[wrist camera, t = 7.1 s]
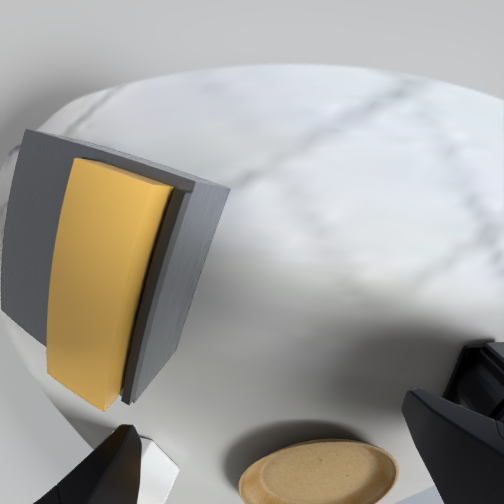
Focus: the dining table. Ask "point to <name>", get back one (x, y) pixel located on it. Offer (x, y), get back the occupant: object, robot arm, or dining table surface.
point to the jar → (155, 474)
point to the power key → (100, 276)
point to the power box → (162, 262)
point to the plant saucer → (320, 474)
